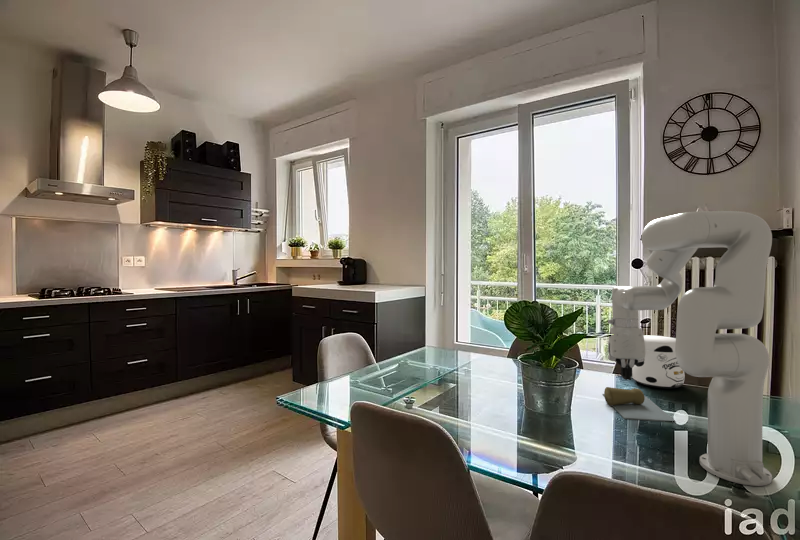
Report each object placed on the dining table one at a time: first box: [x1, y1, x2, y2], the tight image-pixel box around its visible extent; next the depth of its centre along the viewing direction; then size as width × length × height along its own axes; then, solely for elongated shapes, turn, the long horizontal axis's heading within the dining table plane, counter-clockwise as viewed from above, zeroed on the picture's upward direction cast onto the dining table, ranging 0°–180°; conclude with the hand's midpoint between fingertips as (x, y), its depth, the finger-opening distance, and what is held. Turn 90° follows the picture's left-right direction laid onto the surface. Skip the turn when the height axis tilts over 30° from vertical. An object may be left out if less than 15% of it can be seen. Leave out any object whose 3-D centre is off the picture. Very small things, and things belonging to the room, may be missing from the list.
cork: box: [603, 386, 645, 407], centre depth 131 cm, size 6×6×11 cm
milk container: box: [631, 334, 686, 389], centre depth 152 cm, size 17×17×18 cm
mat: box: [602, 393, 676, 423], centre depth 129 cm, size 22×14×1 cm, turn 168°
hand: (626, 378), depth 129 cm, fingers closed
